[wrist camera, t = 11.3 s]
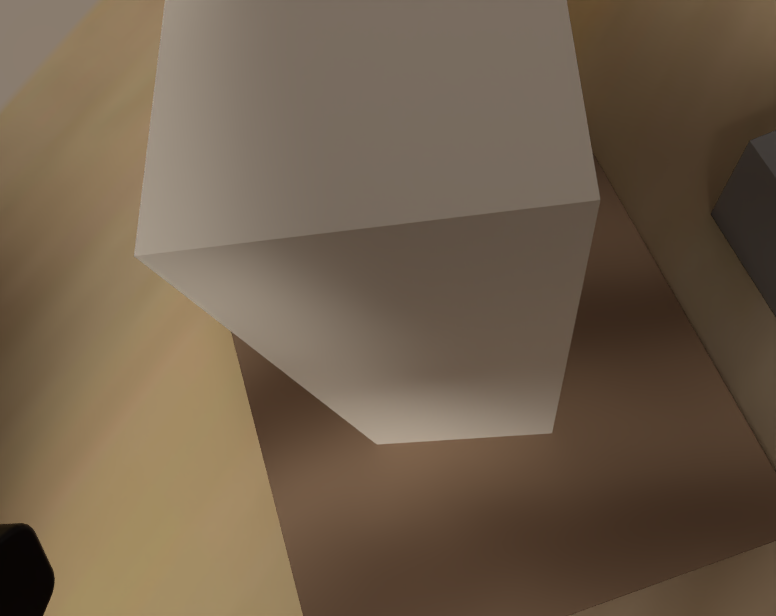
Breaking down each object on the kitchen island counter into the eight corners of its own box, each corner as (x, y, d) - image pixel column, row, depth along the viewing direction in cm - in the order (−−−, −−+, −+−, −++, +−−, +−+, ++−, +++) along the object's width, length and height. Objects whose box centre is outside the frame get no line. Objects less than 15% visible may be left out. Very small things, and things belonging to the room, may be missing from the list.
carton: (552, 433, 18) (600, 200, 6) (377, 444, 19) (133, 256, 7) (531, 262, 20) (538, -160, 8) (373, 279, 21) (174, -83, 9)
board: (790, 530, 17) (807, 528, 16) (337, 694, 18) (325, 703, 17) (554, 110, 23) (556, 88, 22) (220, 246, 24) (205, 231, 23)
